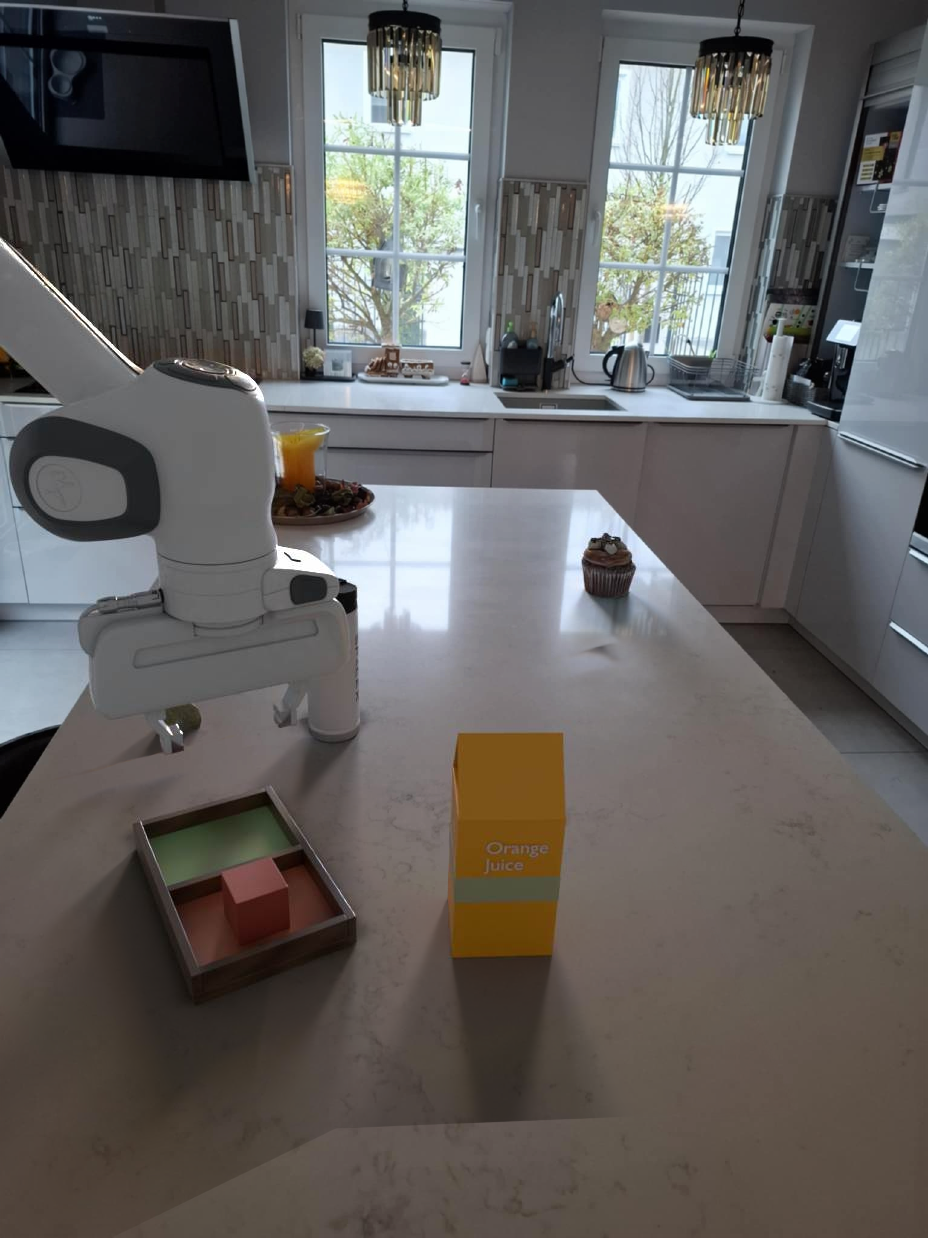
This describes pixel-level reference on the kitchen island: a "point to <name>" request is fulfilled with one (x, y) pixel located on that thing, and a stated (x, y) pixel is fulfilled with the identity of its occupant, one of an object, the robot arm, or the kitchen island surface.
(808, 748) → the kitchen island surface
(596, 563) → the cupcake
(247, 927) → the red block
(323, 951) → the sorting tray
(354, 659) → the travel mug
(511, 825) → the orange juice
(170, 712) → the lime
